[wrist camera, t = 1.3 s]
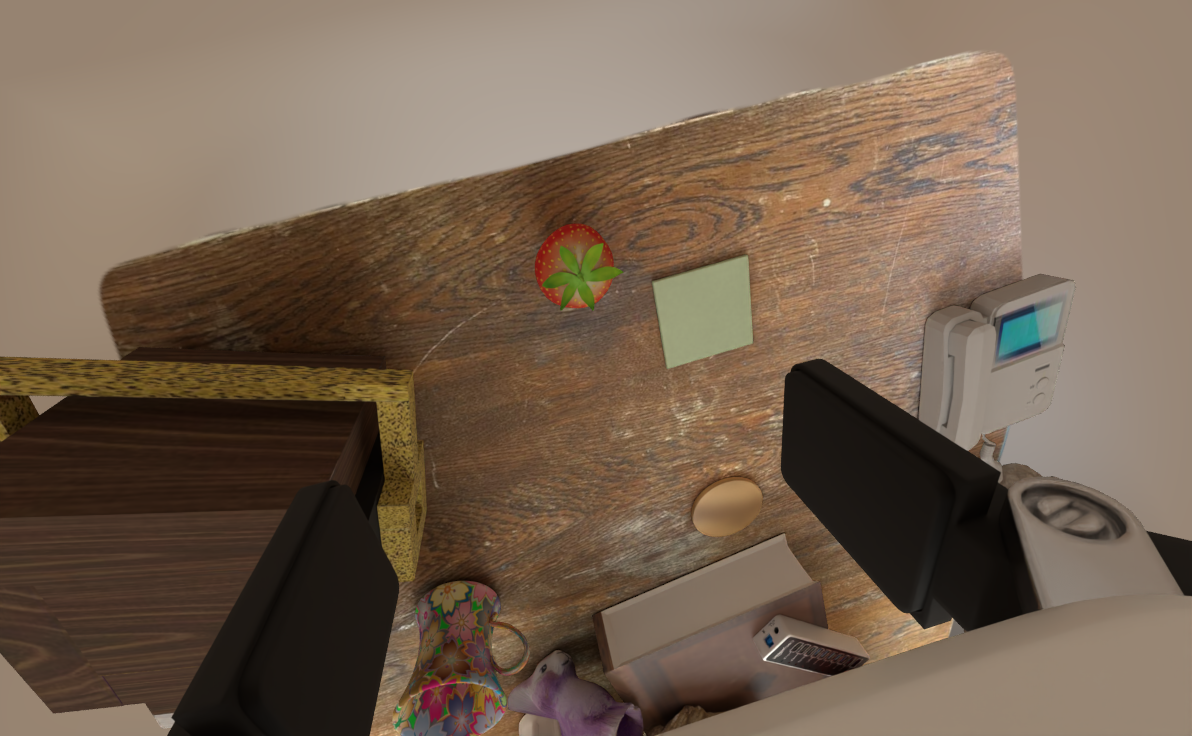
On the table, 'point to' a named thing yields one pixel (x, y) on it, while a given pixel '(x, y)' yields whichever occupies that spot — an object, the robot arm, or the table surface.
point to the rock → (683, 719)
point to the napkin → (704, 311)
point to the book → (708, 635)
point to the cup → (538, 726)
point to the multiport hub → (809, 647)
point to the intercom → (994, 360)
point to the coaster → (726, 506)
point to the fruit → (575, 266)
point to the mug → (456, 664)
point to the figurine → (573, 701)
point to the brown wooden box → (177, 502)
